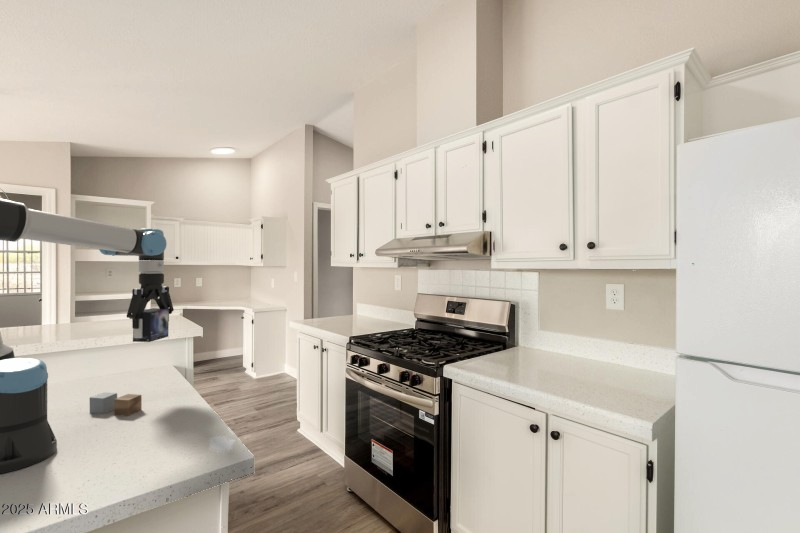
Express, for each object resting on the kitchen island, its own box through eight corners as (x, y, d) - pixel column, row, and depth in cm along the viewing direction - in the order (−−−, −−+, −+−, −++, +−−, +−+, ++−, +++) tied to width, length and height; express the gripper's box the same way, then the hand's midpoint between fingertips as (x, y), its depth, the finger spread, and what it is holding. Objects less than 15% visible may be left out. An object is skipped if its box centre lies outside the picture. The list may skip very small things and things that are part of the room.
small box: (150, 342, 132) (150, 311, 132) (131, 342, 132) (131, 311, 132) (169, 336, 143) (169, 308, 143) (152, 336, 143) (152, 307, 143)
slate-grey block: (103, 414, 122) (103, 398, 122) (89, 413, 123) (89, 397, 123) (117, 408, 127) (117, 393, 127) (104, 407, 128) (104, 392, 128)
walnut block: (128, 416, 121) (128, 400, 121) (114, 415, 121) (114, 399, 121) (141, 410, 126) (141, 394, 125) (128, 409, 126) (128, 393, 126)
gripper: (133, 273, 125) (133, 341, 125) (184, 272, 148) (184, 329, 149) (112, 273, 126) (113, 340, 127) (167, 271, 150) (167, 328, 150)
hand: (151, 334), depth 138 cm, fingers closed on small box, 11 cm apart
